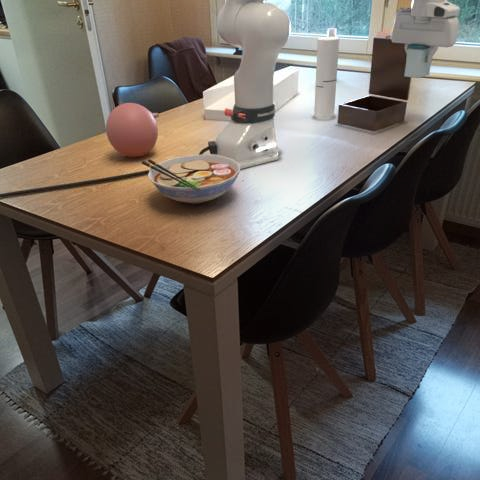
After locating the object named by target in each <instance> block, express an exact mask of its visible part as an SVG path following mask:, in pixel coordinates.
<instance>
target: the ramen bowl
mask: <svg viewBox="0 0 480 480" xmlns="http://www.w3.org/2000/svg"><path fill="white" fill-rule="evenodd" d="M141 165H144V166H146V167H148V168H150V169H149V170H150V171H149V174H147V177H148V178H149V180H150V181H151V183H152V184H153V185H154V186H155V188H156V189H157V190H158V191H159V192H160V193H161V194H162V195H163V196H165V197H166V198H169V199H170V200H173V201H176V202H180V203H187V204H193V205H195V204H204V203H206V202H208V201H212V200H215V199H216V198H219V197H221V196H222V195H224V194H226V193H227V191H229V189H230V188H231V187H232V186H233V185H234V183H235V182H236V180H237V179H238V177H239V174H240V172H241V169H240V165H239V164H238V163H237V162H236V161H234V160H233V159H230V158H227V157H223V156H218V155H211V154H207V153H206V154H205V153H203V154H202V155H199V154H188V155H182V156H177V157H171V158H169V159H166V160H164V161H161V162H158V163H157V162H155V161H154V160H152V159H151V158H149V159H147V161H145V160H142V161H141Z"/></svg>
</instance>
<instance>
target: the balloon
mask: <svg viewBox="0 0 480 480" xmlns="http://www.w3.org/2000/svg"><path fill="white" fill-rule="evenodd" d="M159 116H160V114H159V113H158V112H152V111H150V110H149V109H148V108H147V107H145V106H143V105H141V104H139V103H135V102H125V103H122V104H119V105H117V106H116V107H114V108H113V109H112V110H111V112H110V113H109V115H108V117H107V119H106V124H105V132H106V136H107V137H106V138H107V140H108V142H109V143H110V146H111V147H112V148H113V149H114V150H115V151H116V152H118V153H119V154H121V155H122V156H125V157H128V158H140V157H143V156H145V155H147V154H149V153H150V152H151V151H152V150H153V149H154V147H155V145H156V143H157V141H158V136H159V128H158V123H157V121H156V118H159Z"/></svg>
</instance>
